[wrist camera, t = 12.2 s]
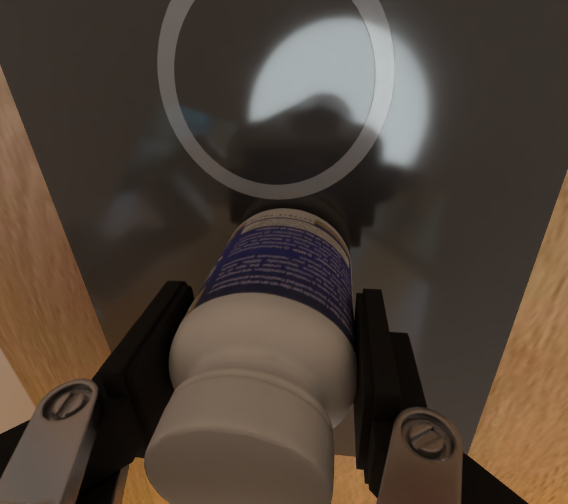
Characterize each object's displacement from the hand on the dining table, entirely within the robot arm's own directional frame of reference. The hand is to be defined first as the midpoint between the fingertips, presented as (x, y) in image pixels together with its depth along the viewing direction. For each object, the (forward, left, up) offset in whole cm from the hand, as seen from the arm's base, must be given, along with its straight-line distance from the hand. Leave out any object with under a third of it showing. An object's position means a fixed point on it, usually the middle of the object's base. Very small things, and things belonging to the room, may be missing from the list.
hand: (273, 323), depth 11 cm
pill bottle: (0, 0, -4) cm, 4 cm away
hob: (0, -1, -4) cm, 5 cm away
